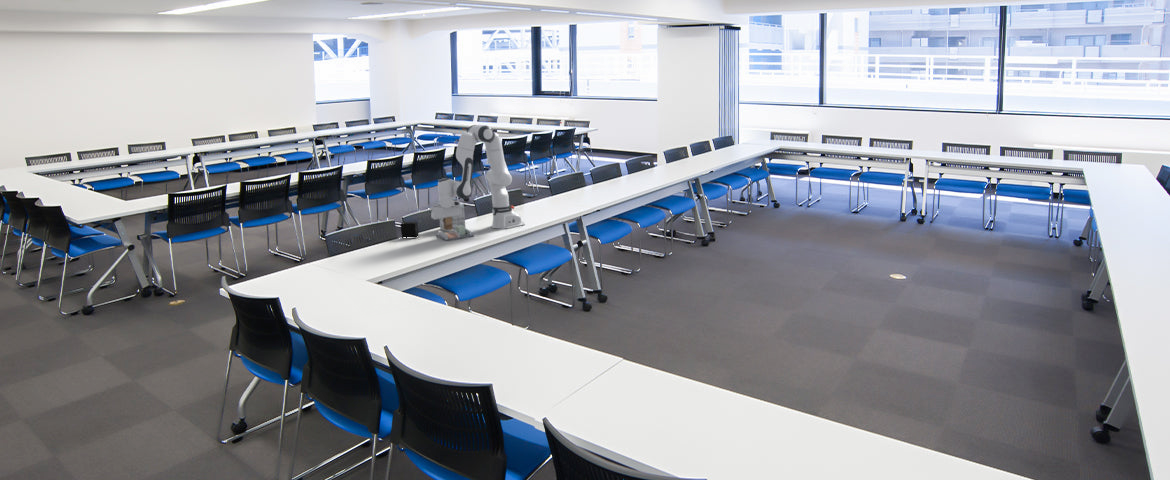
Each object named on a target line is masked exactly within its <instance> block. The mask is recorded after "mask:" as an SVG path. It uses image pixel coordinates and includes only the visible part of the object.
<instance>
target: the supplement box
mask: <svg viewBox="0 0 1170 480" xmlns="http://www.w3.org/2000/svg"><path fill="white" fill-rule="evenodd" d="M460 206H461V207H462V212H463V214H462V216H456V217H455V219H454V221H453V224H452V227H453V230H455V231H456V226H459V225H462V226H464V227H465V228H466V229H467V227H466V217H465V215H466V214H465V208H464V207H465V204H464V203H462V202H460ZM438 220H439V229H440V230H443V231H445V232H446V233H448V232H450V230H445V229H444V226H443V225H442V222H441V220H440V219H438Z"/></svg>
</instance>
